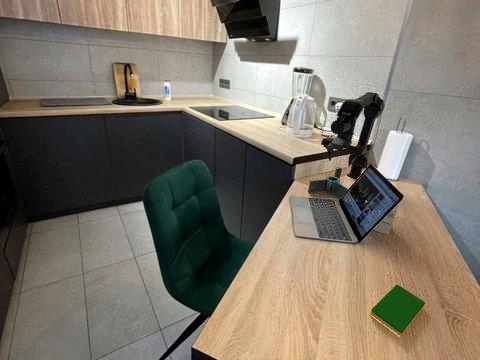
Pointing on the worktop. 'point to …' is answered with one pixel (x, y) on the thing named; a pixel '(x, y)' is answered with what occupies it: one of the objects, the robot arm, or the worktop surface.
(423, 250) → the worktop surface
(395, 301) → the dish sponge
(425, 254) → the worktop surface
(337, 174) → the hinge pin
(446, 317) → the worktop surface
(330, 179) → the hinge
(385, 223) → the light bulb box
